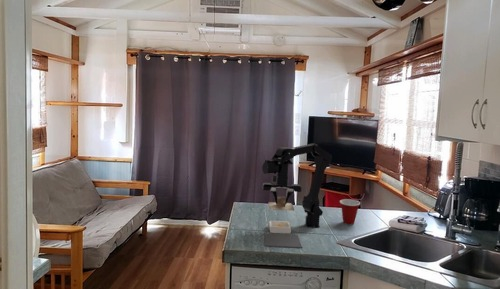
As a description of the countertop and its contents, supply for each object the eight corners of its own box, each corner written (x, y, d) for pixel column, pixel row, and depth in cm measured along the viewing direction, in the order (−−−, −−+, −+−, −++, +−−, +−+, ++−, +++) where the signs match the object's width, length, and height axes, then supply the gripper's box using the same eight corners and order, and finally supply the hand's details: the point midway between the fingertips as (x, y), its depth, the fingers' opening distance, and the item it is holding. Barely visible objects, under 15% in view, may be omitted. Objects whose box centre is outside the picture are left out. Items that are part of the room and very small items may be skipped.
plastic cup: (336, 224, 198) (338, 202, 197) (339, 219, 208) (341, 198, 207) (357, 227, 194) (359, 204, 193) (359, 221, 204) (361, 200, 203)
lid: (291, 204, 188) (292, 195, 188) (294, 210, 176) (294, 201, 176) (268, 203, 188) (268, 194, 188) (269, 209, 176) (269, 199, 176)
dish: (288, 227, 188) (288, 221, 188) (290, 233, 178) (291, 227, 178) (269, 226, 188) (269, 220, 188) (270, 232, 178) (270, 226, 178)
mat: (297, 235, 175) (297, 234, 175) (302, 248, 159) (302, 247, 159) (264, 234, 175) (264, 233, 175) (265, 246, 159) (265, 245, 159)
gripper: (299, 171, 189) (297, 201, 190) (263, 169, 189) (261, 199, 190) (302, 175, 178) (300, 206, 179) (263, 173, 178) (262, 205, 179)
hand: (280, 204), depth 182 cm, fingers closed on lid, 4 cm apart
